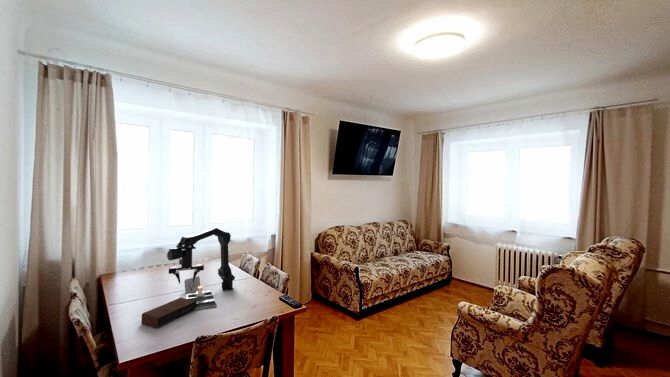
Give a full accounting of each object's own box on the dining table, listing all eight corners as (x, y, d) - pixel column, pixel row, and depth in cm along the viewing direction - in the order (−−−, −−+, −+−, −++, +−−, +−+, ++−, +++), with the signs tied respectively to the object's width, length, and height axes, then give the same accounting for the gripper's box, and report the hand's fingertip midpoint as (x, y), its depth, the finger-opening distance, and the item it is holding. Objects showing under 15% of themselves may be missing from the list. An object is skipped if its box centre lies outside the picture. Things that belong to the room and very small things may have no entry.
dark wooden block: (157, 330, 141) (157, 318, 141) (141, 325, 145) (141, 313, 145) (196, 310, 162) (196, 300, 162) (181, 306, 167) (182, 297, 167)
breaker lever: (203, 295, 178) (203, 285, 178) (204, 297, 174) (204, 287, 174) (196, 296, 176) (196, 286, 176) (196, 298, 172) (196, 288, 172)
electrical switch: (186, 294, 184) (186, 279, 185) (183, 293, 188) (182, 278, 188) (201, 290, 192) (200, 276, 192) (197, 289, 195) (197, 275, 195)
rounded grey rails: (216, 304, 170) (216, 302, 170) (216, 307, 167) (216, 305, 167) (184, 309, 163) (184, 307, 163) (184, 312, 159) (184, 310, 159)
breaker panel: (213, 293, 187) (213, 287, 187) (215, 303, 171) (215, 298, 171) (185, 297, 180) (185, 291, 180) (185, 308, 164) (185, 302, 164)
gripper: (203, 252, 183) (203, 276, 183) (170, 255, 175) (169, 280, 175) (204, 256, 173) (203, 282, 173) (168, 259, 165) (168, 286, 165)
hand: (186, 282), depth 172 cm, fingers open, 7 cm apart
